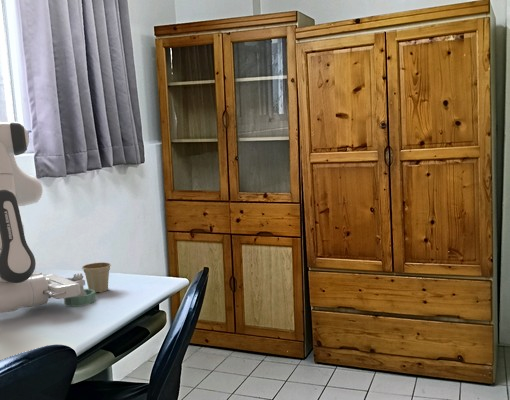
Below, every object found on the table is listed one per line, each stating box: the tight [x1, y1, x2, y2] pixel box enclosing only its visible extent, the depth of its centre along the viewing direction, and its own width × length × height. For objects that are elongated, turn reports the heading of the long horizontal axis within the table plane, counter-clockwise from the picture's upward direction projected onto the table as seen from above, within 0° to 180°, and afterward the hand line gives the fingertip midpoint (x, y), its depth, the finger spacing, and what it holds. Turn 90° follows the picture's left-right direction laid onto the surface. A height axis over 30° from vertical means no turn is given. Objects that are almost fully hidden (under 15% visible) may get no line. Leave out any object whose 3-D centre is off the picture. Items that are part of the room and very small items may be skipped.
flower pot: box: [81, 261, 112, 294], centre depth 197 cm, size 9×9×9 cm
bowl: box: [63, 288, 97, 307], centre depth 185 cm, size 9×9×3 cm
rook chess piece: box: [72, 273, 87, 296], centre depth 184 cm, size 4×4×8 cm
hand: (81, 280), depth 185 cm, fingers closed on rook chess piece, 3 cm apart
